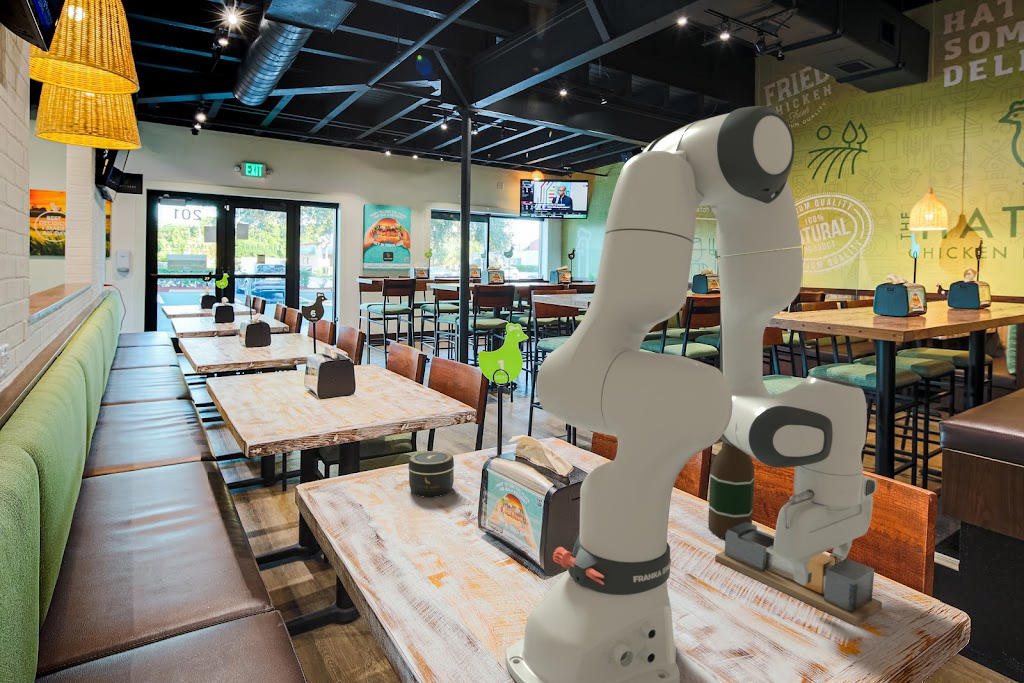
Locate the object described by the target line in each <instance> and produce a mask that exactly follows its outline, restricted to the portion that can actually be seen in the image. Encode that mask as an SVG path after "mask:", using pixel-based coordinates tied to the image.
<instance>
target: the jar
mask: <svg viewBox="0 0 1024 683" xmlns="http://www.w3.org/2000/svg"><path fill="white" fill-rule="evenodd" d="M454 460H455V459H454V456H453V455H452V454H450V453H449V452H446V451H438V450H430V451H422V452H421V451H420V452H417V453H415V454H412V455H411V456H410V457H409V458H408V467H407V468H408V478H409V479H408V483H409V484H408V485H409V487H410V491H411V493H414V494H413V495H415V494H416V495H415V496H417V495H419V496H418V497H420V496H424V497H423V498H436V497H435V496H439V497H441V496H440V495H443V496H445V495H444V494H446V495H448V494H449V493H450V492H451V491H452V490H453V486H454V480H455V476H454V475H455V474H454V468H455V464H454V462H455V461H454ZM449 491H450V492H449ZM448 492H449V493H448ZM447 493H448V494H447Z"/></svg>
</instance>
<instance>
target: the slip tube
mask: <svg viewBox="0 0 1024 683" xmlns="http://www.w3.org/2000/svg"><path fill="white" fill-rule="evenodd" d="M834 564H835V558H833V557H830V555H828V554H824V552H823V553H820V554H818V555H816V556H813V557H811V558H810V560H809V563H808V564H807V567H808V571H810V572H812V577H811V582H810V583H808V584H806V585H802V586H805V587H807V588H809V589H811V590H814V591H816V592H818V593H820V594H822V593H823V594H824V593H825V578H826V569H827V568H829V567H831V566H833V565H834ZM765 568H766V569H768V570H771V571H773V572H775V573H777V574H780V575H782V576H784V577H787V578H789V579H791V580H793V581H795V580H794V573H795V570H794V568H793V565H792V563H791V561H788V560H786V559H784V558H782V557H779V556H778V555H777V554H776V553H775V551H774V546H770V547H768V548H766V565H765Z"/></svg>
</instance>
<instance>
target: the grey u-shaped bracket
mask: <svg viewBox="0 0 1024 683" xmlns="http://www.w3.org/2000/svg"><path fill="white" fill-rule="evenodd" d="M774 538H775V535H772V534H768V533H765V532H763V531H762V530H758V525H757V524H756V525H755V524H753V523H752V524H751V523H748V522H745V523H742V524H740V525H737V526H735V527H732V528H730V529H727V532H726V535H725V538H724V539H725V540H724V551H725V556H727V557H729V558H731V559H734V560H736V561H738V562H740V563H743V564H745V565H747V566H749V567H751V568H754V569H756V570H758V571H760V572H764V571H765V565H766V548H768V547H770V546H774Z"/></svg>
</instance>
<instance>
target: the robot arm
mask: <svg viewBox="0 0 1024 683" xmlns="http://www.w3.org/2000/svg"><path fill="white" fill-rule="evenodd" d="M794 158H795V140H794V134H793V132H792V129H791V127H790V125H789V123H788V122H787V120H786V119H785V118H784V117H783V116H782V115H781V114H780V113H779V112H778V111H777V110H775V109H774V108H773V107H770V106H766V105H764V106H763V105H762V106H761V105H758V106H756V105H754V106H747V107H746V106H745V107H741V108H739V107H738V108H737V109H734V110H733V111H731V112H729V113H724V114H720V115H717V116H714V117H709V118H706V119H700V120H696V121H694V122H692V123H688V124H686V125H684V126H683V127H680V128H678V129H676V130H675V131H673V132H671V133H669V134H668V133H666V134H664V135H661V136H660V137H658V138H656V139H655V140H653V141H651V143H649V144H648V145H647V146H646V147H645V148H644V149H643V151H642V152H640V153H637V154H636V155H633V157H631V158H630V159H628V160H627V161H626V162H625V163H624V165H623V167H622V168H621V170H620V172H619V175H618V178H617V180H616V184H615V186H614V189H613V194H612V198H611V201H610V205H609V209H608V212H607V213H608V214H607V219H606V224H605V229H604V234H603V243H602V249H601V255H600V260H599V267H598V272H597V277H596V283H595V286H594V292H593V294H592V297H591V300H590V303H589V305H588V307H587V310H586V312H585V313H584V316H583V317H582V319H581V321H580V323H579V324H578V326H577V327H576V329H575V330H574V332H573V333H572V334H571V335H570V337H569V338H568V339H567V340H566V341H565V342H563V343H562V344H561V345H560V346H558V347H557V348H555V349H554V350H553V351H551V352H549V354H548V355H547V356H546V357H545V359H544V360H543V362H542V364H541V365H540V367H539V369H538V373H537V376H536V395H537V399H538V401H539V402H538V403H539V404H540V407H541V408H542V410H543V411H544V412H545V413H546V414H548V415H550V416H551V417H553V418H555V419H556V420H559V421H560V422H562V423H565V424H566V425H568V426H571V427H573V428H576V429H582V430H586V431H590V432H594V433H599V434H602V435H606V436H607V435H608V436H612V437H615V438H616V440H617V448H616V455H615V458H614V459H613V460H610V461H608V462H605V463H603V464H601V465H598V466H596V467H595V468H593V469H592V470H590V472H588V474H587V475H586V477H585V478H584V479H583V481H582V483H581V485H580V490H579V491H580V492H579V493H580V496H579V497H580V498H579V499H580V500H579V534H578V536H577V538H576V541H575V544H574V546H573V549H572V552H571V551H568V550H567V549H565V548H564V547H562V546H558V547H557V548H555V550H554V552H553V554H552V560H553V561H554V563H557V564H558V565H561V566H562V567H563V568H565V569H566V568H567V570H566V572H565V573H564V574H563V575H562V576H561V577H560V578H559V579H558V581H557V582H556V583H555V584H554V585H553V586H552V587H551V588H550V589H549V591H548V592H547V593H546V594H545V595H544V597H542V599H541V600H540V601H539V602H538V603H537V604H535V606H534V607H533V608H532V609H531V610H530V612H529V614H528V617H527V620H526V624H525V628H524V629H525V630H524V636H523V637H521V639H519V640H517V641H515V642H514V643H513V644H512V643H511V645H510V646H508V647H507V648H506V649H505V650H506V651H505V656H504V657H505V658H504V659H505V664H506V665H505V666H506V669H507V670H508V672H509V674H510V676H511V677H512V678H513V680H514V681H515V682H516V683H680V682H681V676H680V675H681V673H680V670H679V666H678V665H677V661H676V660H677V654H678V653H677V647H676V644H675V641H674V628H673V627H674V626H673V615H672V614H673V613H672V606H671V602H670V597H669V590H668V583H667V582H668V581H667V580H668V579H669V577H670V576H671V567H672V566H671V565H672V558H671V547H670V544H669V542H668V532H669V519H670V516H669V515H670V508H671V507H670V506H671V499H672V493H673V488H674V487H675V484H676V481H677V479H678V476H679V474H680V472H681V471H682V469H683V468H684V467H685V466H686V464H687V463H688V462H689V461H690V460H691V459H693V457H695V456H696V455H698V454H699V453H700V452H702V451H703V450H707V449H709V448H710V447H711V446H712V445H714V444H715V443H717V441H719V439H720V440H722V442H723V441H724V442H726V443H727V444H729V445H731V446H734V447H736V448H738V449H740V450H742V451H743V452H745V453H746V454H748V455H749V456H750V458H753V459H754V460H755V461H758V462H759V463H761V464H763V465H765V466H767V467H771V468H777V469H786V468H787V469H788V468H794V467H795V468H794V480H793V493H794V494H792V495H791V496H789V499H788V501H787V502H786V503H785V504H784V505H782V507H781V508H780V510H779V512H778V515H777V519H776V525H775V526H776V527H775V531H774V532H775V533H774V537H775V538H774V551H775V553H776V554H777V555H778V556H779V557H782V558H784V559H786V560H788V561H791V563H792V565H793V568H794V570H795V573H794V580H795V581H796V582H797V583H799V584H801V585H806V584H808V583H810V582H811V577H812V572H810V571H808V567H807V564H808V563H809V560H810V558H811V557H813V556H816V555H818V554H820V553H823V554H824V553H825V552H827V551H829V550H831V549H832V552H831V553H830V554H829V556H830V557H833V558H835V564H836V563H838V562H840V561H842V560H844V559H846V558H847V557H848V555H849V552H850V550H851V548H852V545H853V540H855V539H858V538H861V537H862V536H865V535H866V534H867V532H868V530H869V528H870V525H871V521H872V515H873V506H874V497H873V494H876V492H877V489H878V481H877V478H876V479H875V478H872V477H870V476H867V475H863V474H864V466H863V465H864V464H863V462H862V452H863V448H864V447H865V444H866V437H867V428H868V427H867V425H868V424H867V422H868V418H867V417H868V416H867V414H868V411H867V408H868V407H867V402H866V399H867V398H866V396H865V393H864V390H863V389H862V388H861V387H860V386H859V385H858V384H856V383H854V382H851V381H848V380H844V379H841V378H837V377H832V376H828V375H824V374H811V375H808V376H806V378H805V379H804V380H803V381H802V382H801V383H799V384H797V385H796V386H795V387H793V388H791V389H789V390H787V391H785V392H781V393H778V394H774V395H772V394H770V392H769V391H768V389H767V388H766V386H765V384H764V383H765V382H764V378H763V376H764V375H763V370H764V369H763V366H764V365H763V364H764V363H763V359H764V358H763V357H764V353H763V351H764V350H763V348H764V345H763V344H764V342H763V341H764V333H765V331H766V328H767V326H768V324H769V322H771V320H772V319H773V318H774V317H775V316H776V315H778V314H779V313H781V312H782V311H784V310H785V309H787V307H788V306H790V305H791V304H792V303H793V302H794V301H795V299H796V298H797V297H798V295H799V293H800V290H801V287H802V286H801V285H802V279H803V269H804V265H803V263H804V261H803V260H804V258H803V250H802V238H801V237H802V236H801V235H802V234H801V227H800V222H799V218H798V217H799V215H798V212H797V207H796V203H795V199H794V196H793V192H792V189H791V186H790V184H789V182H788V178H789V176H790V173H791V170H792V167H793V163H794ZM706 206H710V209H711V211H712V213H713V214H714V217H715V219H716V232H715V233H716V256H717V269H718V279H719V280H718V281H719V290H720V291H719V293H720V317H719V319H720V320H719V350H720V351H719V355H720V357H719V358H720V362H719V364H720V367H719V368H717V367H715V366H713V365H711V364H707V363H704V362H702V361H699V360H695V359H693V358H688V357H685V356H682V355H677V354H667V353H658V352H653V351H652V352H650V351H641V346H642V344H643V342H644V339H645V338H646V336H647V335H648V333H649V332H650V331H651V330H652V329H653V328H654V327H655V326H657V324H660V323H662V322H665V321H667V320H669V319H671V318H672V317H674V316H675V315H676V314H677V313H679V311H680V310H681V308H683V306H684V304H685V302H686V299H687V296H688V288H689V282H690V281H689V280H690V272H691V266H692V265H691V264H692V259H693V251H694V244H695V236H696V224H697V210H698V208H700V207H706Z"/></svg>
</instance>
